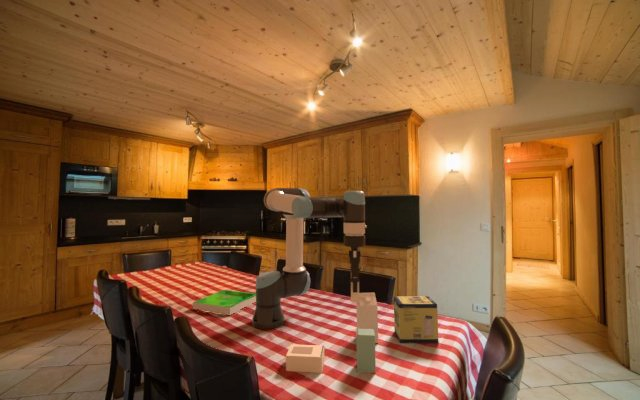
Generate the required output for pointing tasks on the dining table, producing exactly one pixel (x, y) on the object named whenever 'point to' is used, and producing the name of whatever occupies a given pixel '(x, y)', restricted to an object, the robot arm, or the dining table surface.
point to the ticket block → (305, 358)
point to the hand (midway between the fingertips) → (354, 295)
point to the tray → (225, 302)
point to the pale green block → (365, 350)
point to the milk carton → (367, 313)
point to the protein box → (415, 319)
